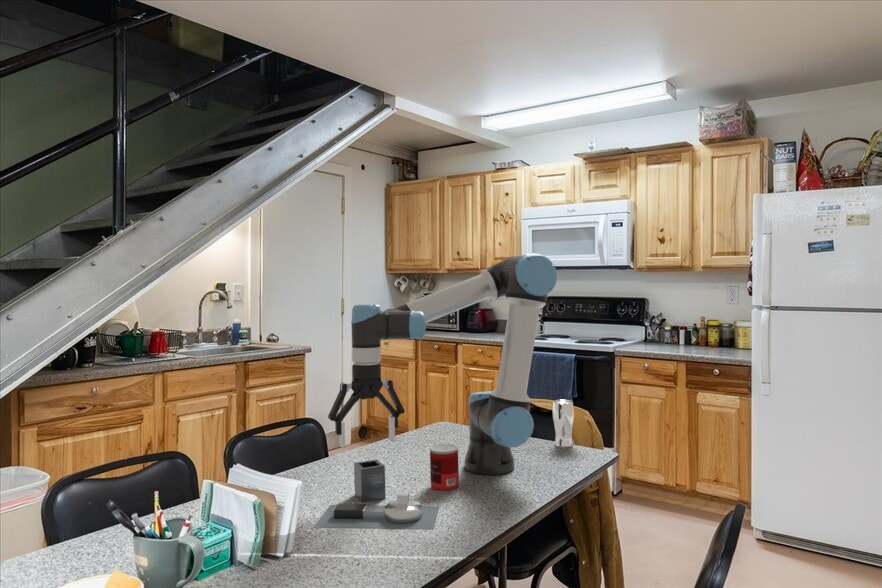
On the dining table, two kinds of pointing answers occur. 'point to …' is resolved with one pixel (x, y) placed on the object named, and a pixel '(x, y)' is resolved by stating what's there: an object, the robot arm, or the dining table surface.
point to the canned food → (444, 467)
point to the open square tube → (369, 480)
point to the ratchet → (382, 511)
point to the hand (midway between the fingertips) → (367, 443)
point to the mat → (378, 521)
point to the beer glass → (563, 422)
